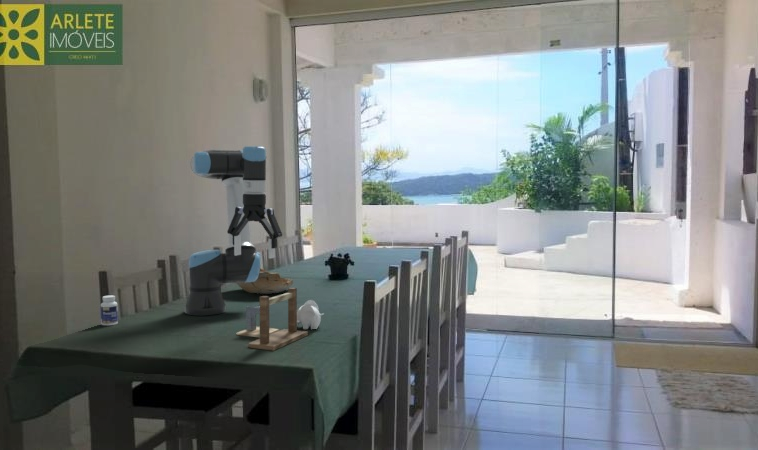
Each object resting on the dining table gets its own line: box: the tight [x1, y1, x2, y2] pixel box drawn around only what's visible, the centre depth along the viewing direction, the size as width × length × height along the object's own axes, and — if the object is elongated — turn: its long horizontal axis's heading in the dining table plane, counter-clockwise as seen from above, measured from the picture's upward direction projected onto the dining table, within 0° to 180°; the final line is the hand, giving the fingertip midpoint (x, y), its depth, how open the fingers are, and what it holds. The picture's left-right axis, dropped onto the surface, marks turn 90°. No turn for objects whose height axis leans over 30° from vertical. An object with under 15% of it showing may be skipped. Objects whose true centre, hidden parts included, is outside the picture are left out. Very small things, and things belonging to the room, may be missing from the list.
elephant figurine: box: [297, 299, 325, 330], centre depth 207 cm, size 10×12×9 cm
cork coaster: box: [236, 326, 280, 339], centre depth 200 cm, size 10×10×1 cm
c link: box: [245, 304, 260, 331], centre depth 199 cm, size 7×3×8 cm, turn 67°
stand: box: [247, 287, 309, 352], centre depth 189 cm, size 20×9×15 cm, turn 157°
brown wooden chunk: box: [236, 268, 294, 295], centre depth 274 cm, size 30×27×15 cm
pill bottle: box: [100, 294, 119, 326], centre depth 210 cm, size 5×5×10 cm
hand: (254, 256), depth 203 cm, fingers open, 13 cm apart
